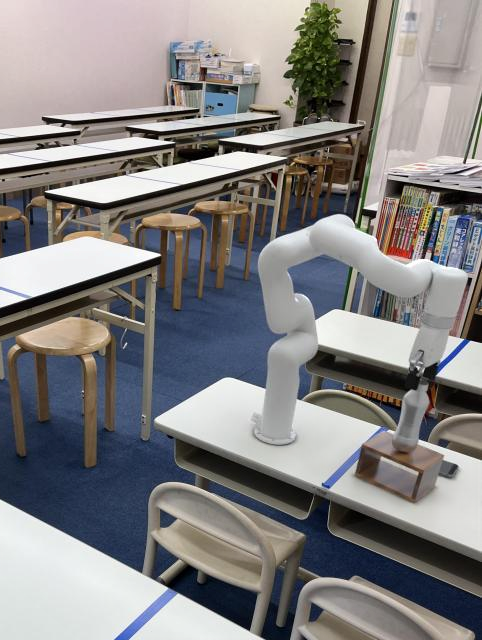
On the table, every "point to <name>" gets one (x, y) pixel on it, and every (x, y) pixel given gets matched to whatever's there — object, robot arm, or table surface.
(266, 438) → the robot arm
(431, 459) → the shelf rack
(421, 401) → the plastic bottle
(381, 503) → the table surface
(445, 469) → the phone
